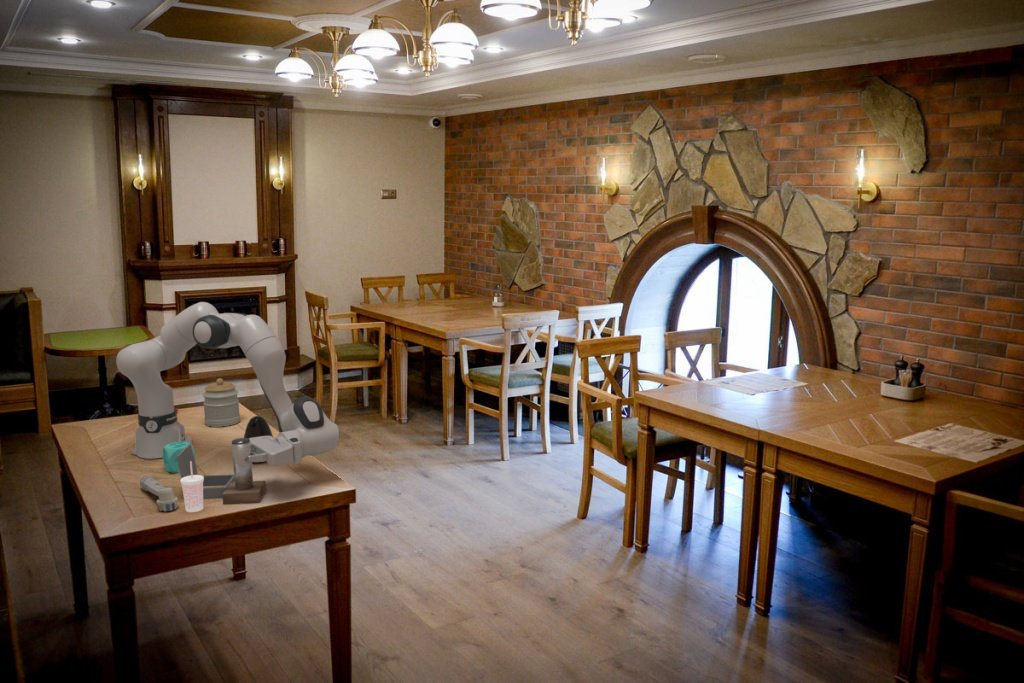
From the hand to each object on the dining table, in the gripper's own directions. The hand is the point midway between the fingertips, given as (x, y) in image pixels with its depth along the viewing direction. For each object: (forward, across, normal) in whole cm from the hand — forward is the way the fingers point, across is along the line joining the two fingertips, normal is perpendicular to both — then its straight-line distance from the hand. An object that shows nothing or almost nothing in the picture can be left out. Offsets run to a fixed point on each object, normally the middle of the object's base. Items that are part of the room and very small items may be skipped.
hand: (242, 455), depth 237 cm
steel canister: (0, 0, +10) cm, 10 cm away
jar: (-23, -84, +13) cm, 88 cm away
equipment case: (+6, -11, +13) cm, 18 cm away
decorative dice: (+7, -38, +13) cm, 41 cm away
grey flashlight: (+20, -15, +13) cm, 28 cm away
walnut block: (0, 0, +13) cm, 13 cm away
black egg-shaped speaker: (-16, -30, +13) cm, 36 cm away
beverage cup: (+14, 0, +13) cm, 19 cm away
